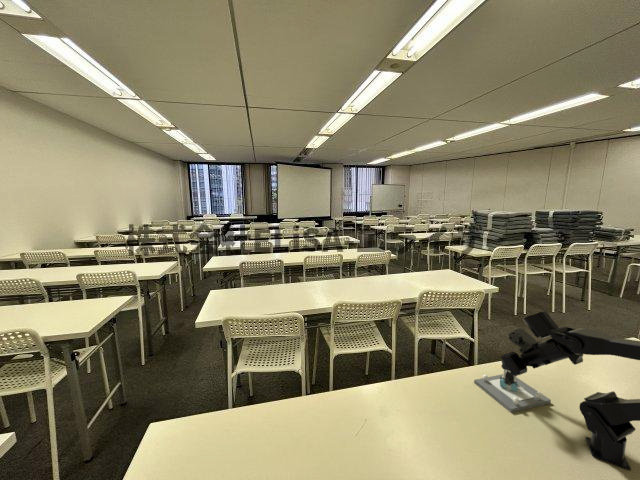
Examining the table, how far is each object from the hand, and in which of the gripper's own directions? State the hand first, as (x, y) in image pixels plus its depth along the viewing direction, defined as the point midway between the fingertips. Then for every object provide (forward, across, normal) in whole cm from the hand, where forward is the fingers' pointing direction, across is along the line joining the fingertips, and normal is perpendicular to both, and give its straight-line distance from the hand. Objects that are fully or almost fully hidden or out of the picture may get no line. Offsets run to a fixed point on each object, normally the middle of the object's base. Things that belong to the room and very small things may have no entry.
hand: (508, 365), depth 87 cm
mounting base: (+6, 0, +7) cm, 9 cm away
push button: (+5, 0, +6) cm, 8 cm away
